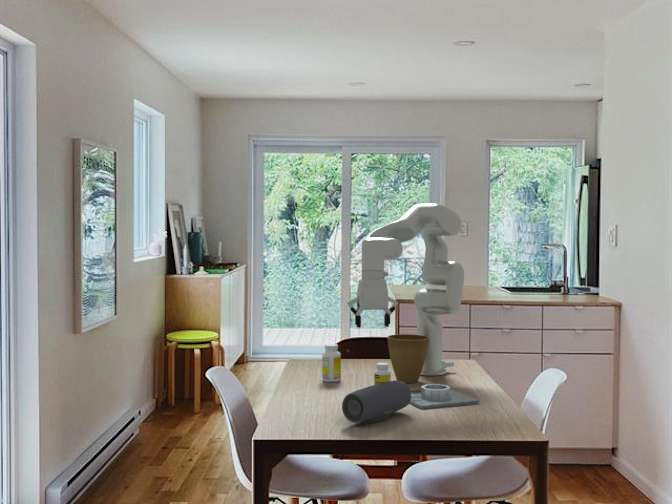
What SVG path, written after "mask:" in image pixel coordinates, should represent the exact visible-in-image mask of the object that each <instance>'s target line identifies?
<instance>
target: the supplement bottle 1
mask: <svg viewBox="0 0 672 504" xmlns="http://www.w3.org/2000/svg"><path fill="white" fill-rule="evenodd" d="M338 349H339V344H336V343H327V344H325V345H324V350H325V351H323V353H322V354H321V357H322V359H321V361H322V362H321V364H322V365H321V366H322V370H321V371H322V372H321V373H322V380H323V382H326V383H327V382H328V383H336V382H340V381H341V379H342V367H341V366H342V356H341V355H342V354H341V352H340V351H338Z"/></svg>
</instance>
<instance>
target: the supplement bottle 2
mask: <svg viewBox="0 0 672 504" xmlns="http://www.w3.org/2000/svg"><path fill="white" fill-rule="evenodd" d="M375 367H376V370H374V376H373V377H374V380H373V381H374V384H373V385H376V384H380V383H385V382H390V381H392V379H391V378H392V377H391V375H392V374H391V373H392V372H391V371H390V369H389V367H390V366H389V363H388V362H377V363H376V366H375Z"/></svg>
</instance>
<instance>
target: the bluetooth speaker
mask: <svg viewBox="0 0 672 504" xmlns="http://www.w3.org/2000/svg"><path fill="white" fill-rule="evenodd" d="M410 391H411V389H410V387H409V386H408V383H405V382H403V381H397V380H391V381H390V382H385V383H380V384H376V385H374V384H372V385H369V386H367V387H366V386H365V387H364V388H360V389H357V390H354V391H352V392H349V393H347V394H346V395H345V396H344V398H343V399H342V403H341V410H342V413H343V415H344V417H345V418H346V420H348V421H349V422H352V423H353V424H358V423H366V422H367V423H368V424H373V423H372V422H374V423H377V422H381V421H384V420H387V419H388V417H389V418H391V415H392V414H393V413H396V412H397V411H401V410H403V409H405V408H406V407H407V406H408V405H410V401H411V392H410Z"/></svg>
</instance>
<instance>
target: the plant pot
mask: <svg viewBox="0 0 672 504" xmlns="http://www.w3.org/2000/svg"><path fill="white" fill-rule="evenodd" d="M386 338H387V346H388V353H389V358H390V362H391V365H392V369H393V373H394V376H395V379H396V381H403V382H405V383H406V384H415V383H418V382H419V380H420V377H421V376H422V375H421V372H422V369H423V366H424V362H425V358H426V354H427V349H428V343H429V337H427V336H423V335H417V334H413V333H412V334H411V333H409V334H407V333H406V334H405V333H404V334H403V333H401V334H399V333H397V334H390V335H387V337H386Z"/></svg>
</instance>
